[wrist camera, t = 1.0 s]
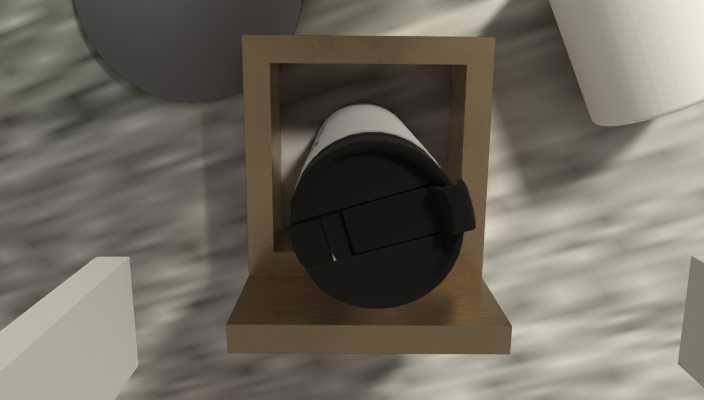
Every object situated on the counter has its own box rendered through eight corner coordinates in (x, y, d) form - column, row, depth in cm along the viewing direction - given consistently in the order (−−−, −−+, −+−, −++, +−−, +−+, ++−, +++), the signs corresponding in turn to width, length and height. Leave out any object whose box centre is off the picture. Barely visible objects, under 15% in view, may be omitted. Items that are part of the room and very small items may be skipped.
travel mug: (425, 180, 41) (497, 288, 21) (330, 207, 41) (314, 339, 22) (400, 88, 39) (452, 114, 20) (302, 117, 40) (258, 171, 20)
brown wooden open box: (255, 38, 39) (214, 27, 27) (477, 40, 39) (532, 30, 27) (261, 272, 42) (227, 352, 30) (465, 273, 42) (509, 354, 31)
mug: (573, 120, 40) (627, 134, 32) (520, -27, 38) (564, -50, 30) (751, 43, 39) (852, 39, 31) (706, -113, 37) (801, -159, 29)
